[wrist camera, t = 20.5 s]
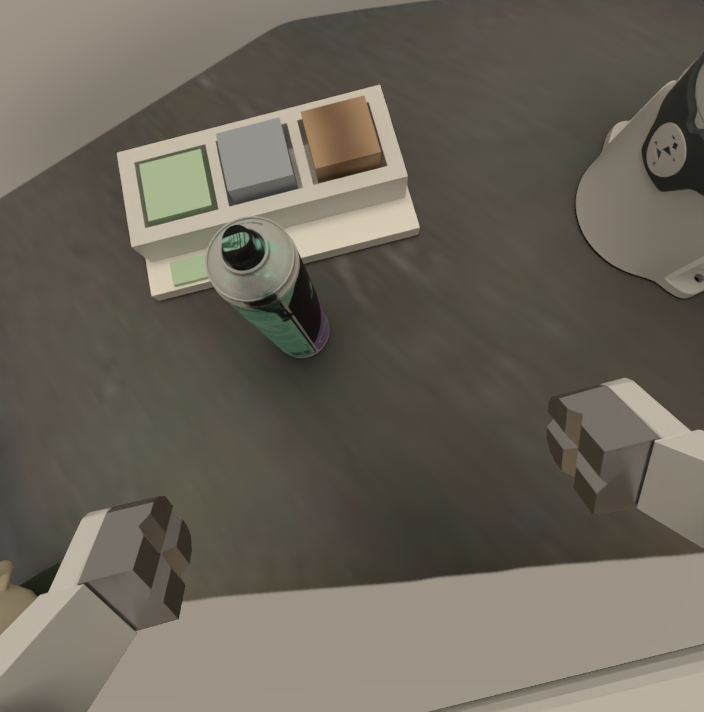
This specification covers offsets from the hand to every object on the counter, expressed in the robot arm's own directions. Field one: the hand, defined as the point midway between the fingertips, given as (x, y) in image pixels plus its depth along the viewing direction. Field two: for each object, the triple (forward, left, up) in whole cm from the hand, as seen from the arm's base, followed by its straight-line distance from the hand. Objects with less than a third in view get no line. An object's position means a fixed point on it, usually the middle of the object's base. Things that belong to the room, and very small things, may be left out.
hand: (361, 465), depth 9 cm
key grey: (+4, -27, -28) cm, 40 cm away
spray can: (+4, -12, -32) cm, 34 cm away
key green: (+12, -27, -30) cm, 42 cm away
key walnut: (-4, -27, -28) cm, 40 cm away
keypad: (+4, -26, -31) cm, 41 cm away
